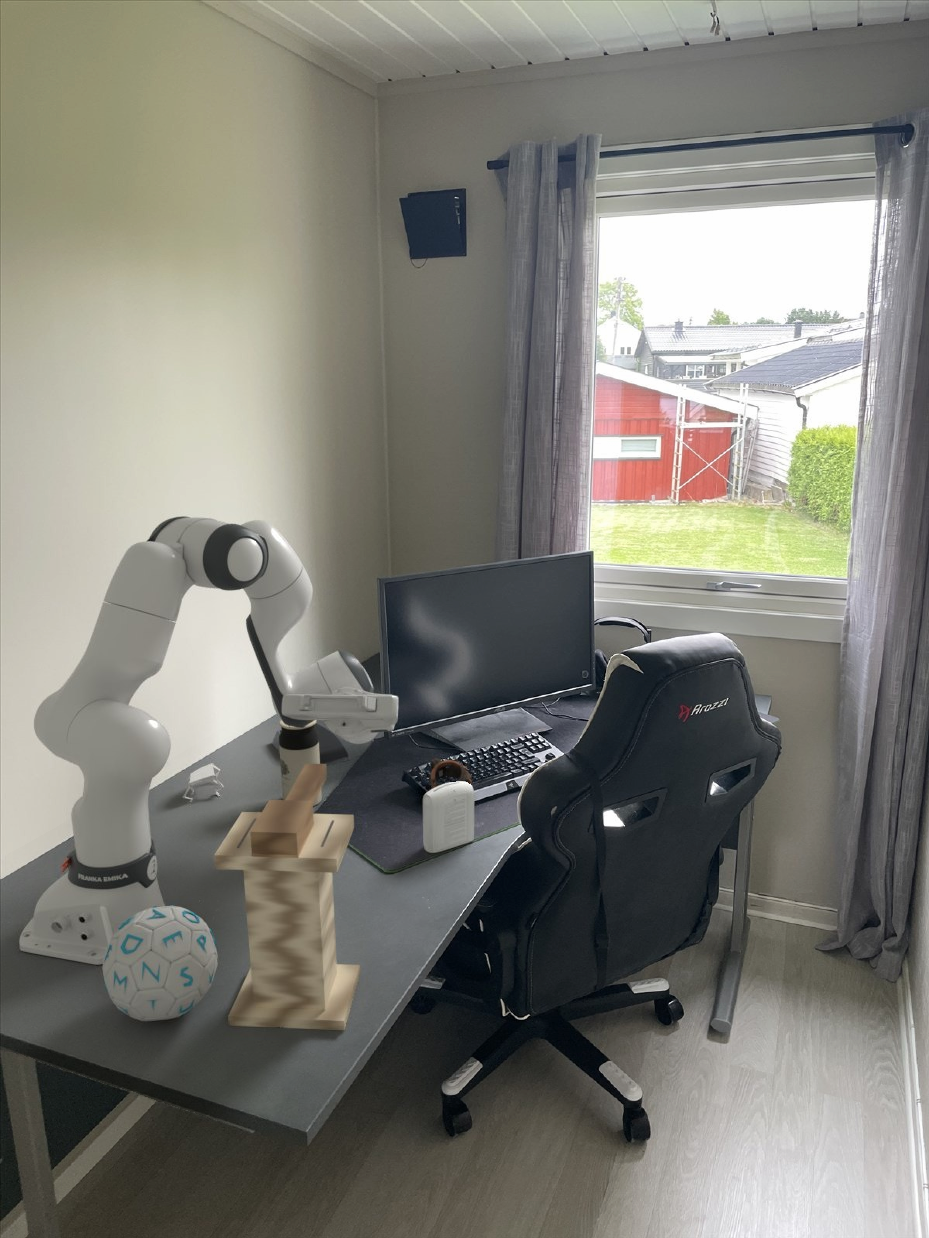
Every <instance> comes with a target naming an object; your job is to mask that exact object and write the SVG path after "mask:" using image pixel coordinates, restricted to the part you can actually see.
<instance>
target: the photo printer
mask: <svg viewBox="0 0 929 1238" xmlns="http://www.w3.org/2000/svg"><path fill="white" fill-rule="evenodd" d="M422 797H423V798H422V839H423V840H422V843H423V846H424V850H425V852H427V853H430V854H435V853H440V852H443V851H446V850H450V849H452V848H456V847H458V846H461V845H464V844H465V845H466V844H468V843H471V842H472V841H474V839H475V791H474V787H473V784H472V785H471V784H469V783H468V782H464V781H456V782H449V781H448V782H446V783H443V784H442V783H441V785H440V786H437V787H435V788H433V789H429V790H428V791H427V792H426V793H425V794H424V795H423V796H422Z"/></svg>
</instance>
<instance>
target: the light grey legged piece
mask: <svg viewBox="0 0 929 1238" xmlns="http://www.w3.org/2000/svg"><path fill="white" fill-rule="evenodd" d="M215 771H216V774H215ZM220 772H221V769H220V768H219V767H217V766H216V765H215V763H214V762H212V763H209V764H207V765H204V766H201V767H200V768H198V769H196V770H194V771H193V772H191V773H189V776H188V778H187V779H186V781H185V784H186V785H187V788H186V791H184V792H185V793H184V794H183V796H182V798H183V799H187V800H190V801H189V802H191V803H192V801H193V800H194V798H192V797H188V796H187V794H188V793H189V791H190V790H191V791H192V792H191V794H193V795H194V792H195V789H194V788H193V787H192V785H195V784H197V783H200V782H203V781H208V780H210V779H213V780H212V782H213V783H214V784H216V785H218V786H219V787H217V788H216V789H215V790H214V793H215V794H216V795H217V796H218V797H219V796H220V795H221V794H220V793H219V791H220V790H222V789H224V785H223V783H221V782H220V781H219V780H218V778H217V777H218V776H219V774H220ZM219 794H220V795H219Z"/></svg>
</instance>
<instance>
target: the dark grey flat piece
mask: <svg viewBox="0 0 929 1238" xmlns="http://www.w3.org/2000/svg"><path fill="white" fill-rule="evenodd" d="M315 729H316V731H317V732H318V736H319V755H320V764H326V767H327V766H330V765H336V764H338V763H342V762H346V761H350V760H351V757H350V755H349V752H348V751H347V749H346V747H345V745H344V744H343V743H342V741H341V740H340V739H339V737H337V735H336V734H335V733H333V732H332V731H331V730H330V729H327V728H326V727H325V726H322V725H320V724H318V723H317V722H316V723H315ZM281 731H282V729H281V730H277V731H276V732H275V735H274V737H273V741H272V745H273V746H274V747H275V748H276V750H277V751H278V752H279V753H280V747H279V735H280V733H281Z"/></svg>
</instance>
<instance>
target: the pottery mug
mask: <svg viewBox="0 0 929 1238" xmlns="http://www.w3.org/2000/svg"><path fill="white" fill-rule="evenodd" d="M429 765H430V768H431V772H430V786H431V789H433V788H435V787H437V786H440V785H442V783H437V782H436V779H440V778H443V777H446V778H448V777H457V778H459V779H458V780H457V781H464V782H466V781H465V780H467V781H468V782H469V783H470V784H472V785H473V781H472V775H471V774H470V773H469V769H468V768H467V767H466V766H465V765H463V764H462V763H460V761H459V762H458V761H457V760H453V759H445V760H441V759H439V758H438V757H437V758H433V759H432V760H430V763H429ZM431 789H430V790H431Z"/></svg>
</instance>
